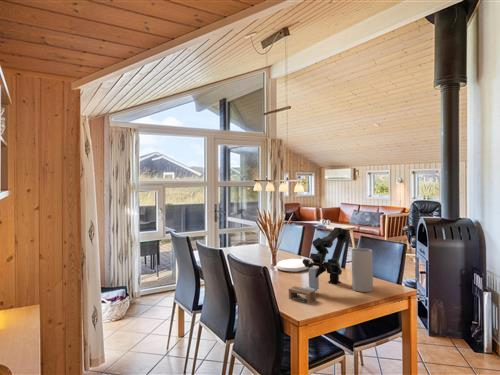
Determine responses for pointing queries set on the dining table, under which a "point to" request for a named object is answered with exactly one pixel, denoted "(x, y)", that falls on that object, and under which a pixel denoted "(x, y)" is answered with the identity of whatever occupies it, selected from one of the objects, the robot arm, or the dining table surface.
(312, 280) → the tall grey prism
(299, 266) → the plate
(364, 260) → the cylinder vase
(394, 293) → the dining table surface
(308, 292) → the brown hollow brick
